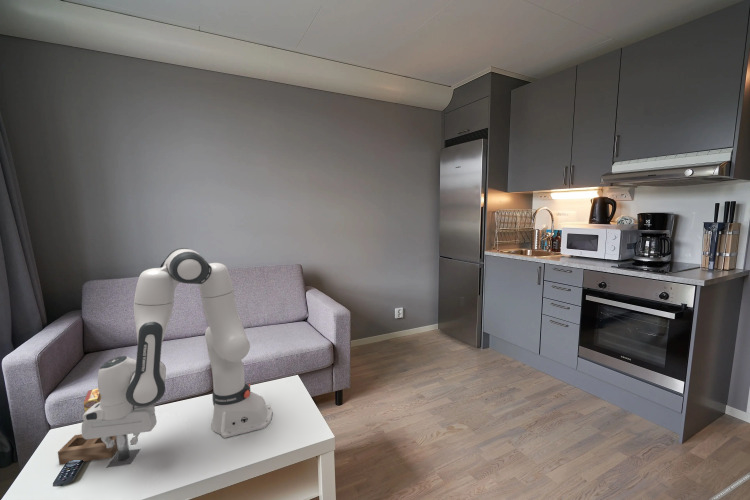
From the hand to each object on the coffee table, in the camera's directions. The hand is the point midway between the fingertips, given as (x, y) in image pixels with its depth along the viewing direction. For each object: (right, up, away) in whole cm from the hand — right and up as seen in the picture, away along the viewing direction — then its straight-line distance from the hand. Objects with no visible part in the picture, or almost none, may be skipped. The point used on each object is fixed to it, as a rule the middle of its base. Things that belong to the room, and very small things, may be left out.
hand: (122, 445), depth 107 cm
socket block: (-12, -5, +3) cm, 14 cm away
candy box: (-20, -4, +14) cm, 25 cm away
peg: (0, -5, +1) cm, 5 cm away
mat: (0, -5, +1) cm, 5 cm away
